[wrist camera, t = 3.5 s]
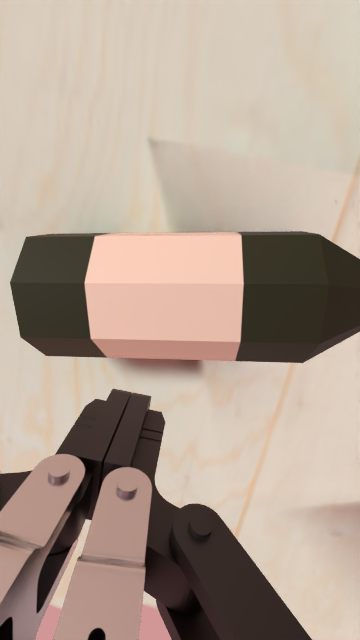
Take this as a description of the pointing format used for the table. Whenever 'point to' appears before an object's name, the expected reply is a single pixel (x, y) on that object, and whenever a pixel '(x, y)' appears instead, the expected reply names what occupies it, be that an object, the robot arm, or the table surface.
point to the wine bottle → (186, 295)
